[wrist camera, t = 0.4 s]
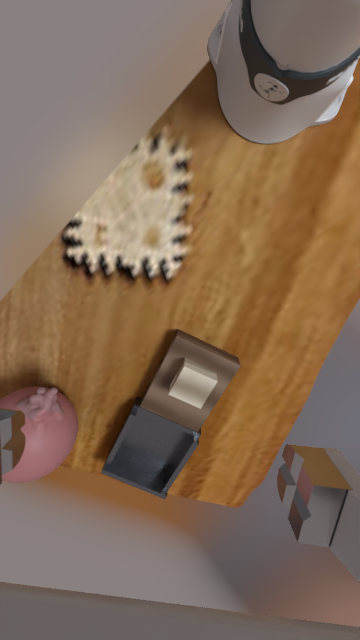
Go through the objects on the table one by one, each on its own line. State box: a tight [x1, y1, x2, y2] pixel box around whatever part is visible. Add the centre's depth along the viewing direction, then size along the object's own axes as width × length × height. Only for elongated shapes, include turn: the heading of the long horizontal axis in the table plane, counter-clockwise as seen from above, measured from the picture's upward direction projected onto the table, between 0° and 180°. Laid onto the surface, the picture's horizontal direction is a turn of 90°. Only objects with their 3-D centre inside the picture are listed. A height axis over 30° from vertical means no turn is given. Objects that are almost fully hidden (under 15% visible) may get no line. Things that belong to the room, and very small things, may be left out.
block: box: [169, 358, 218, 409], centre depth 45 cm, size 6×6×3 cm
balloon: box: [0, 386, 78, 483], centre depth 46 cm, size 15×20×15 cm
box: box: [101, 397, 201, 499], centre depth 53 cm, size 16×14×5 cm
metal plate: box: [140, 329, 240, 432], centre depth 48 cm, size 16×12×3 cm
